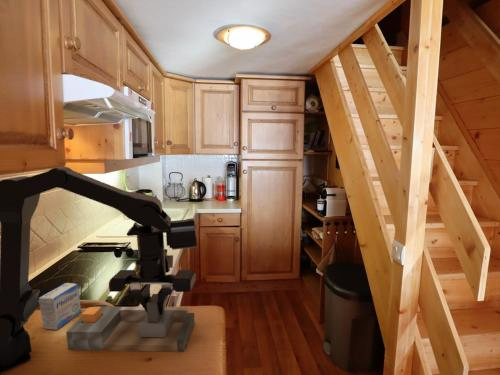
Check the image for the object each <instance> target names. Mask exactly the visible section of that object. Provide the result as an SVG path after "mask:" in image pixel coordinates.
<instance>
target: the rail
mask: <svg viewBox="0 0 500 375" xmlns="http://www.w3.org/2000/svg"><path fill="white" fill-rule="evenodd" d="M92 307H101V314H102V316H101V317H100V319H99V320H98V321H97V322H96V323H83V320H82V316H81V317H80V318H79V319H78V320H77V321H76V322H74V323H73V324H72V326H71V327H69V329H67V330H66V331H65V334H66V335H65V336H66V341H67V350H68V351H119V352H120V351H121V352H124V351H125V352H126V351H128V352H129V351H130V352H131V351H132V352H177V353H178V352H179V353H180V352H185V350H186V347H187V345H188V342H189V339H190V338H191V334H192V332H193V329H194V326H195V324H196V322H195V321H196V320H195V312H189V309H188V307H165V308H164V311H172V313H173V323H172V325H171V327H170V329H169V331H168V333H167V335H166V337H140V332H139V324H140V323H141V321H142V320H143V318H144V317H145V315H146V314H147V312H146V310H145V309H144V308H143V306H140V307H138V306H132V307H131V306H129V307H128V306H100V305H99V306H94V305H93V306H92Z"/></svg>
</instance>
